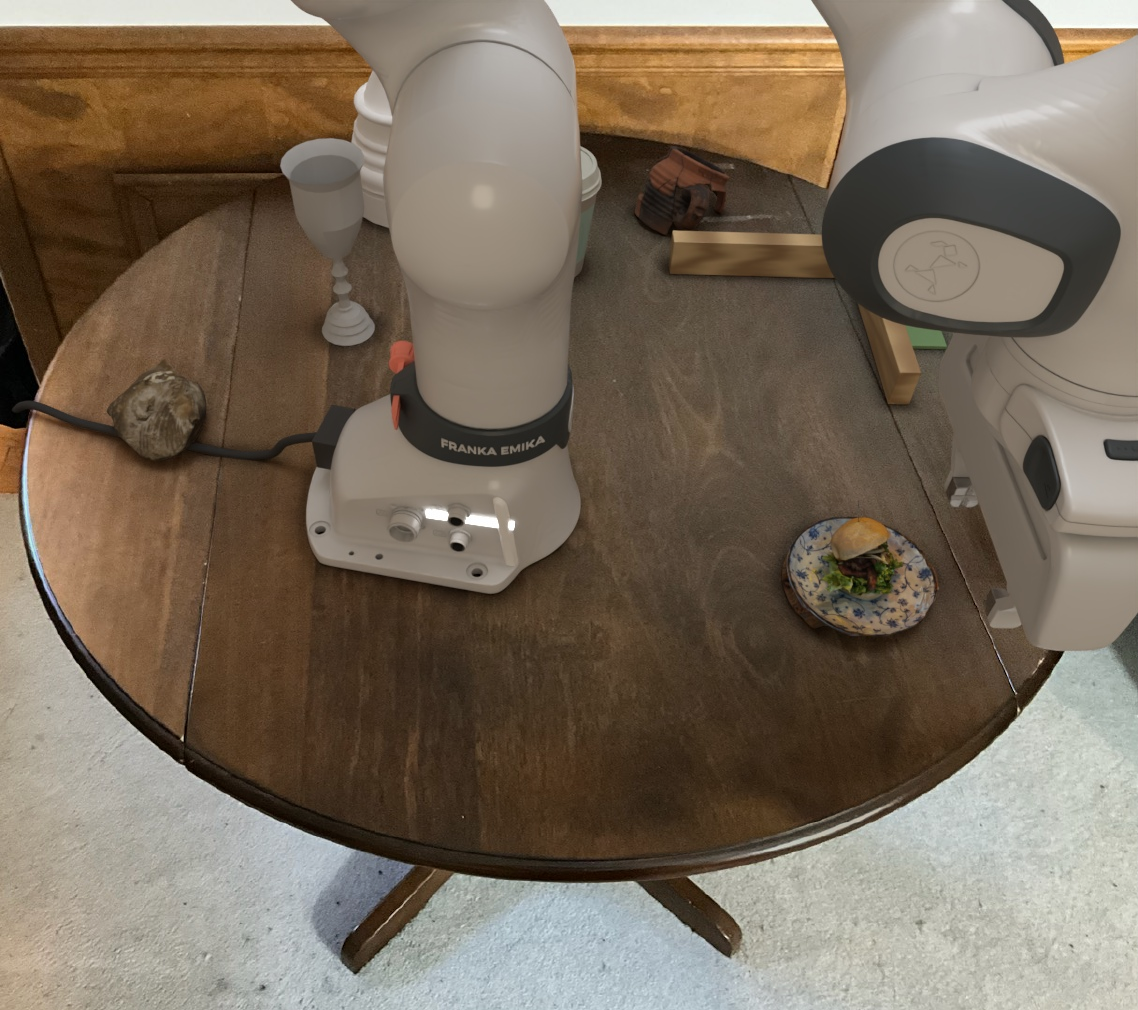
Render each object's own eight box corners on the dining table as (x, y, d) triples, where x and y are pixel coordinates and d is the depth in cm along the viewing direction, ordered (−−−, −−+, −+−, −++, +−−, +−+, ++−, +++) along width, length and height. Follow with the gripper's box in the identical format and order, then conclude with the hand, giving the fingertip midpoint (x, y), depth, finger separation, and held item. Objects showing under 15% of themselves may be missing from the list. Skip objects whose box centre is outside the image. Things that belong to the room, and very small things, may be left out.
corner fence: (684, 400, 96) (690, 367, 93) (668, 262, 110) (672, 230, 107) (909, 404, 97) (921, 372, 94) (864, 267, 110) (874, 235, 107)
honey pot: (420, 243, 110) (406, 80, 97) (328, 202, 114) (302, 40, 101) (491, 189, 117) (488, 30, 104) (402, 152, 122) (388, -5, 108)
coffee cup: (598, 244, 111) (606, 142, 102) (591, 294, 106) (599, 190, 97) (519, 237, 112) (519, 134, 102) (508, 286, 106) (507, 182, 97)
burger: (803, 655, 78) (826, 597, 73) (764, 533, 86) (782, 472, 80) (955, 641, 80) (988, 583, 74) (903, 523, 87) (930, 462, 82)
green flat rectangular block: (895, 348, 102) (896, 345, 102) (879, 297, 107) (880, 294, 107) (946, 349, 102) (947, 346, 102) (927, 298, 107) (928, 295, 107)
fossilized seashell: (221, 439, 87) (217, 376, 94) (160, 389, 83) (161, 328, 90) (153, 490, 88) (155, 424, 96) (90, 443, 84) (96, 378, 91)
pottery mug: (618, 201, 118) (652, 132, 114) (687, 231, 122) (722, 164, 118) (651, 238, 108) (688, 163, 104) (724, 268, 112) (763, 197, 108)
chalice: (362, 360, 98) (337, 192, 84) (298, 342, 99) (263, 173, 86) (397, 315, 102) (379, 148, 89) (335, 298, 104) (308, 131, 90)
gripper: (955, 247, 57) (887, 427, 67) (1079, 540, 43) (970, 707, 54) (1069, 250, 57) (983, 429, 67) (1227, 542, 44) (1089, 708, 54)
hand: (978, 555), depth 60 cm, fingers open, 7 cm apart
